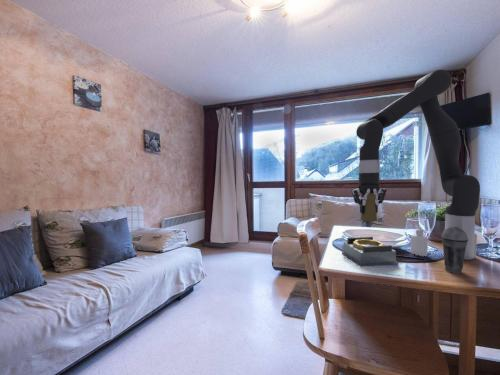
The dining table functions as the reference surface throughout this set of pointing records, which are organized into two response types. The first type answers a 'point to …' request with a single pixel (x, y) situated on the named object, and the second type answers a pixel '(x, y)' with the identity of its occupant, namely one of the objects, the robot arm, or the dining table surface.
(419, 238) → the eye dropper bottle
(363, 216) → the cork
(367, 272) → the dining table surface
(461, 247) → the beverage cup
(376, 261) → the grey peg socket base
